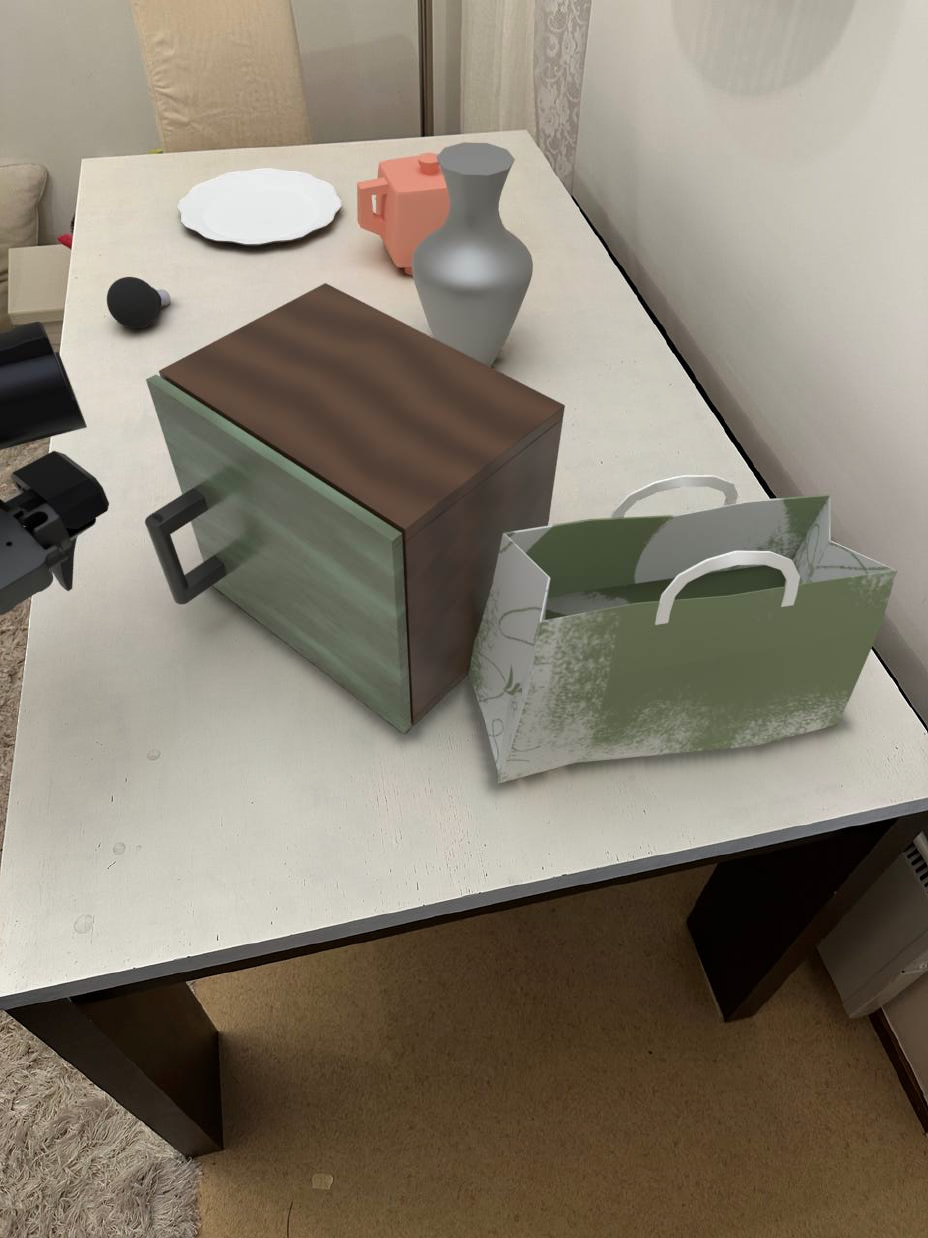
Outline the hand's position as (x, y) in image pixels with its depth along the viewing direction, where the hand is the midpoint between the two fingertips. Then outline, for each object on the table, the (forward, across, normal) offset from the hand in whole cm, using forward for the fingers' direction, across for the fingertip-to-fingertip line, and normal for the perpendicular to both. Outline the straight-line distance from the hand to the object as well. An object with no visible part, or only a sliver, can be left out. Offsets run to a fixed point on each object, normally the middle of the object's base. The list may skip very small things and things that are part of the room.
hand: (13, 621), depth 65 cm
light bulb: (+13, +42, +47) cm, 65 cm away
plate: (+13, +73, +59) cm, 94 cm away
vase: (+13, +65, +9) cm, 67 cm away
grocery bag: (+13, +36, -37) cm, 53 cm away
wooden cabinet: (+13, +28, -10) cm, 33 cm away
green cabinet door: (+13, +16, -11) cm, 23 cm away
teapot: (+13, +82, +30) cm, 88 cm away
